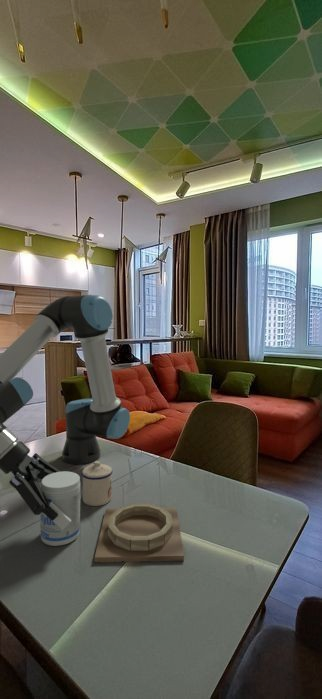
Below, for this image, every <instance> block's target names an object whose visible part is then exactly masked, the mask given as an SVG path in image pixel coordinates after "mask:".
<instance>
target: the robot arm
mask: <svg viewBox="0 0 322 699" xmlns="http://www.w3.org/2000/svg"><path fill="white" fill-rule="evenodd" d="M112 320H113V310H112V307H111V305H110V303H109V302H108V300H107V299H105V298H104V297H103V296H101V295H95V294H93V295H92V294H84V295H83V294H82V295H81V294H80V295H65V296H61V297H59V298H57V299H55V300H54V301H52V302H51V303H49V304H48V305H46V306H45V307H44V308H43V309H42V310H40V311H39V313H38V314H36V316H34V318H33V322H32V324H31V325H30V326H29V327H28V328H26V329H25V331H24V332H22V334H20V335H19V337H17V339H16V340H15V341H13V342H12V343H11V344H10V345H9V347H7V348H6V349H5V350H4V351H3V352H2V353H1V354H0V470H1V471H2V472H3V473H4V474H5V475H7V474H9V473H12V474H13V477H12V478H11V479H10V480H9V485H11V486H12V487H13V488H14V489H15V490H16V491H17V493H18V494H19V495H20V497H21V498H22V500H23V501H24V502H25V504H26V505H27V506H28V508H29V509H30V510H31V512H32V513H33V515H35V516H38V515H40V513H41V512H43V513H44V514H45V515H46V516H47V517H49V518H50V519H51V520H52V521H53V522H54V523H55V524H56V525H58V526H59V527H60V528H61V529H62V530H63V529H64V528H65V527H66V526H67V525H68V524H69V523H70V522H71V519H70V518H69V517H67V516H66V515H65V514H64V513H63V512H62V511H61V510H60V509H59V508H58V507H57V506H56V505H55V504H53V503H52V502H51V503H50V504H49V502H48V500H47V499H46V497H45V495H44V493H43V491H42V489H41V485H40V484H39V482H38V480H39V479H40V480H42V479H43V478H44V477H45V476H47V475H49V474H52V473H56V472H62V471H61V470H60V469H59V468H57V467H55V466H54V465H52V464H50V462H48V461H46V460H45V459H44V458H42V457H41V456H40V455H39V454H38V452H37V453H36V452H35V453H34V454H33V455H32V456H30V455H29V454H30V453H31V452H30V451H31V449H30V447H28V446H27V445H26V444H25V443H24V442H23V441H18V440H19V437H17V435H16V434H14V433H13V432H12V431H11V430H10V428H8V427H7V426H5V424H4V423H5V422H6V421H8V420H9V419H10V418H11V417H12V416H13V415H15V414H16V413H18V411H19V410H21V409H22V408H24V407H25V406H26V405H27V403H28V402H29V401H31V400H32V398H33V397H34V390H33V388H32V386H31V384H30V383H29V382H28V381H26V380H25V378H24V379H23V378H22V377H16V376H17V375H18V374H19V373H20V372H21V371H22V370H23V369H24V368H25V366H26V365H27V364H29V363H30V361H32V360H33V358H34V357H35V356H36V355H37V354H38V352H40V350H42V348H43V347H44V346H45V345H46V344H47V343H48V342H49V341H50V340H51V339H52V338H56V337H57V336H58V335H59V334H61V332H63V331H66V330H73V334H74V338H75V339H77V340H78V341H80V346H81V350H82V356H83V360H84V364H85V370H86V374H87V375H86V376H87V380H88V383H89V385H88V386H89V388H90V389H89V390H90V394H91V398H81V399H76V400H72V401H70V402H67V404H66V406H65V434H66V435H65V436H66V437H65V438H66V440H65V443H64V445H63V449H62V450H61V451H62V452H61V460H62V461H63V462H65V463H67V464H72V465H82V464H83V465H84V464H88V463H92V462H93V463H94V462H95V461H98V460H99V458H100V457H101V448H100V444H99V441H98V439H97V436H98V437H101V438H102V437H103V438H107V439H115V440H116V439H120V438H122V437H123V436H124V435H125V434H126V433H127V431H128V428H129V425H130V422H131V415H130V411H129V409H127V408H126V407H123V406H122V400H121V399H120V398H119V397H117V395H116V391H115V384H114V381H113V380H114V379H113V373H112V369H111V364H110V357H109V352H108V346H107V341H106V335H107V334H108V333H109V328H110V327H111V326H112V322H113V321H112ZM81 496H82V495H80V499H81V498H82V497H81Z"/></svg>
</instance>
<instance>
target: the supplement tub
mask: <svg viewBox="0 0 322 699" xmlns="http://www.w3.org/2000/svg"><path fill="white" fill-rule="evenodd" d="M80 479H81V477H80V475H79V474H78V473H76V472H73V471H67V470H66V471H65V470H64V471H61V472H56V473H52V474H49V475H47V476H45V477H44V478H43V479H41V480H40V481H41V484H40V488H41V489H42V491H43V493H44V495H45V497H46V499H47V500H48V502H49V504H50V503H51V502H52V503H53V504H55V505H56V506H57V507H58V508H59V509H60V510H61V511H62V512H63V513H64V514H65V515H66V516H67V517H69V518H70V519H71V522H70V523H69V524H68V525H67V526H66V527H65V528H64V529H63V530H62V529H61V528H60V527H59V526H58V525H56V524H55V523H54V522H53V521H52V520H51V519H50V518H49V517H47V516H46V515H45V514H44V513H43V512H41V513H40V514H39V515H40V521H39V522H40V525H39V526H40V527H39V528H40V533H39V534H40V540H41V541H42V543H44V544H45V545H48V546H51V547H52V546H53V547H58V546H64V545H67V544H70V543H72V542H73V541H74V540H76V539H77V538H78V536H79V535H80V532H81V498H80V496H81V480H80Z"/></svg>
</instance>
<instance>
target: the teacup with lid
mask: <svg viewBox="0 0 322 699" xmlns="http://www.w3.org/2000/svg"><path fill="white" fill-rule="evenodd" d="M112 474H113V468H112V467H111V466H109V465H107V464H103V463H101V461H100V460H95V461H93V463H92V464H91V465H87V466H86V467H84V469H82V471H81V476H82V501H83V503H84V504H86V506H90V507H101V506H104V505H106V504H107V503H109V502H110V501H112V497H113V496H112V494H113V493H112V491H113V490H112V489H113V486H112V484H113V483H112V480H113V479H112V477H113V476H112Z"/></svg>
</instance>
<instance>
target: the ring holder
mask: <svg viewBox="0 0 322 699" xmlns="http://www.w3.org/2000/svg"><path fill="white" fill-rule="evenodd" d="M178 515H179V514H178V509H177V507H162V506H159V505H157V504H152V503H148V502H147V503H142V502H141V503H140V502H139V503H136V502H135V503H131V504H128V505H127V504H126V505H125V506H122V507H119V508H105V511H104V515H103V519H102V525H101V529H100V532H99V537H98V542H97V544H96V551H95V553H94V554H95V555H94V563H95V562H100V563H113V562H112V561H116V562H115V563H122V562H121V561H124V562H123V563H133V562H135V563H136V562H137V563H138V562H139V563H140V561H151V562H183V561H185V555H184V553H185V552H184V548H183V541H182V535H181V529H180V528H181V527H180V522H179V516H178ZM109 561H110V562H109Z"/></svg>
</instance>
